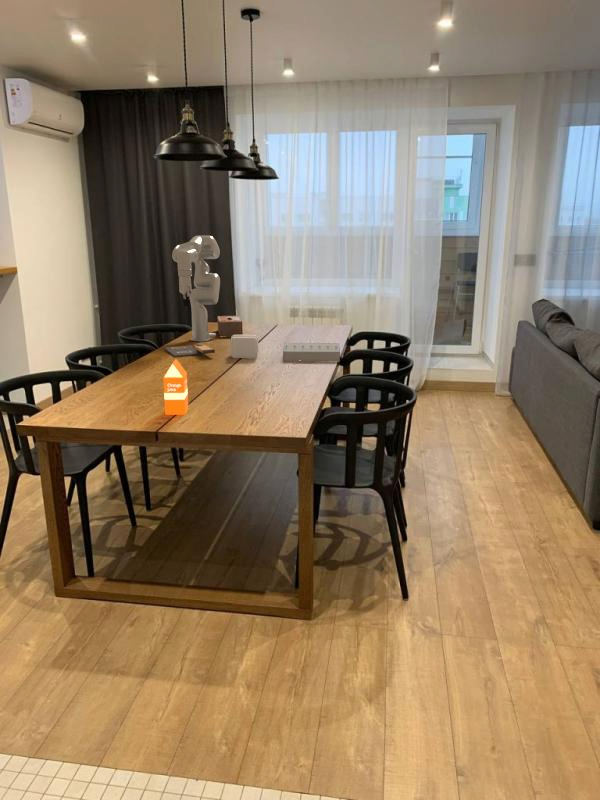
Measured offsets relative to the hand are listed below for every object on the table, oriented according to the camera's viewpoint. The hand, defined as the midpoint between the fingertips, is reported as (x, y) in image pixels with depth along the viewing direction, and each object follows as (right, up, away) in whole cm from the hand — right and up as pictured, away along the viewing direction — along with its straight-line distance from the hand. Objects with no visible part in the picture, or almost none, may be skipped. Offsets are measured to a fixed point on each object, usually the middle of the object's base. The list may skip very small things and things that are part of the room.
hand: (186, 305), depth 353 cm
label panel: (-2, -26, -2) cm, 26 cm away
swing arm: (+11, -26, -11) cm, 30 cm away
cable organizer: (+34, -30, -14) cm, 47 cm away
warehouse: (+70, -32, -17) cm, 79 cm away
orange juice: (+16, -58, -111) cm, 126 cm away
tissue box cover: (+18, -10, +57) cm, 60 cm away
